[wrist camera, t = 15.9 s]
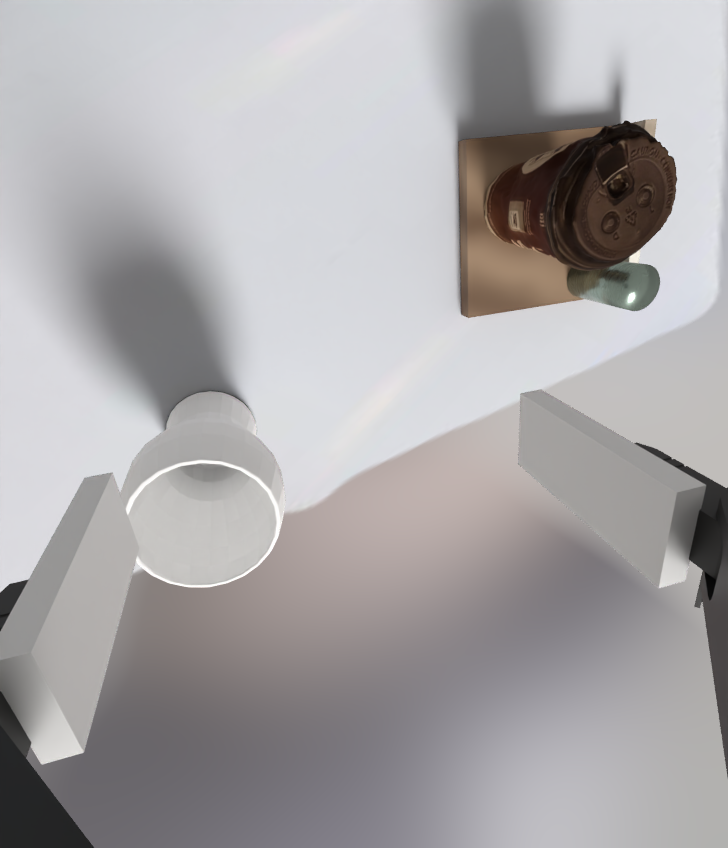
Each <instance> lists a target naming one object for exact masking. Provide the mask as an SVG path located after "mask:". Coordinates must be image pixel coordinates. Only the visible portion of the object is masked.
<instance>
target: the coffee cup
mask: <svg viewBox="0 0 728 848" xmlns="http://www.w3.org/2000/svg"><path fill="white" fill-rule="evenodd" d="M676 181H677V177H676V167H675V162H674V158H673V157H672V156H669V155H668V151H667V150H666V148H665V147H662V145H661V143H660V142H657V140H656V139H655V138H654V137H653V136H652V135H650V134H649V133H648V132H647V131H646V130H645V129H644V128H642V127H641V126H639V125H637V124H634V123H630V122H629V121H624V123H622V124H618V125H614V126H612V127H608V126H604V127H603V128H602V129H601V131H600V132H599V133H598V134H596V135H595V136H593V137H586V138H582V139H579V140H576V141H574V142H571V143H568V144H565V145H563V146H560V147H558V148H556V149H553V150H551V151H548V152H545V153H542V154H540V155H537V156H535V157H533V158H531V159H529V160H527V161H525V162H522V163H519V164H516V165H513V166H511V167H509V168H508V169H506V170H505V171H503V172H501V173H500V174H499V175H498V176H497V178H496V179H495V180H494V182H492V184H491V185H490V186H489V188H488V189H487V194H486V201H485V204H484V210H485V216H484V218H485V220H486V223H487V226H488V228H489V230H490V231H491V232H492V233H493V234H494V235H495V236H497V237H498V238H499V239H501V240H502V241H504V242H506V243H509V244H514V245H516V246H519V247H522V248H526V249H529V250H532V251H536V252H539V253H542V254H546V255H548V256H552V257H553V258H557V260H558V261H559V262H561V263H562V264H565V265H568V266H569V267H571V268H574V269H578V270H585V271H592V270H602V269H606V268H609V267H611V266H614V265H616V264H619V263H621V262H623V261H624V260H626V259H627V258H628V257H630V256H631V255H633V254H634V253H636V252H637V251H638V250H640V249H641V248H642V247H643V246H644V245H645V244H646V243H647V242H648V241H649V240H650V239H651V238H652V237H653V236H654V235H655V234H656V233H657V232H658V231H659V230H660V229H661V227H663V225H664V223H665V222H666V220H667V218H668V216H669V215H670V214H671V211H672V205H673V203H674V200H675V193H676V186H675V185H676Z"/></svg>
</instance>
